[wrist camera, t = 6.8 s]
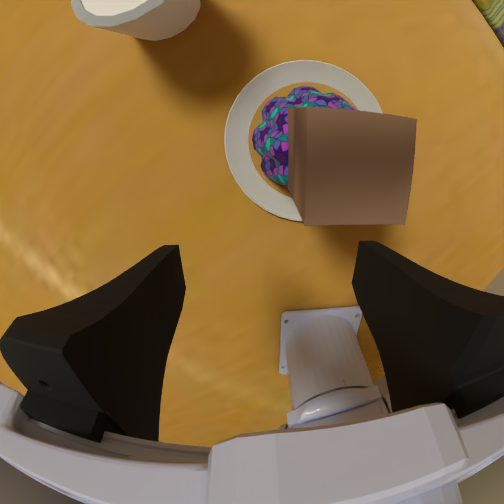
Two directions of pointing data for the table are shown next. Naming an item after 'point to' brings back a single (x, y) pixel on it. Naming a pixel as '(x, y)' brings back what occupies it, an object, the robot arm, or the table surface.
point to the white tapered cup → (138, 16)
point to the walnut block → (350, 165)
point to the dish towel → (493, 15)
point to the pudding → (282, 125)
